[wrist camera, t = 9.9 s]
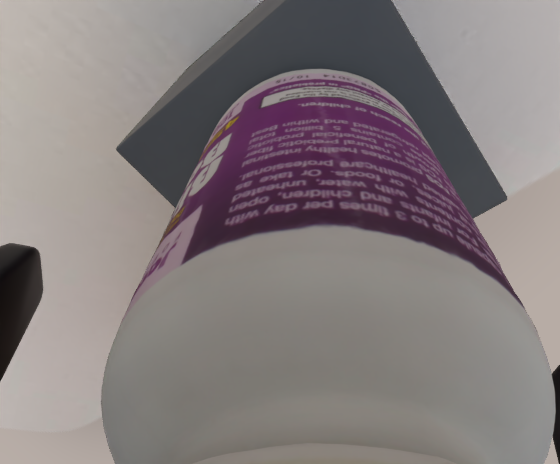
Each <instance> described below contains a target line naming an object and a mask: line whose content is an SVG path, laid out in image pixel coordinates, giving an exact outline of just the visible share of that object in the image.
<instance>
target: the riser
mask: <svg viewBox="0 0 560 464" xmlns="http://www.w3.org/2000/svg"><path fill="white" fill-rule="evenodd" d="M306 69H329V70H336V71H343V72H348V73H351V74H355V75H358V76H361V77H363V78H366V79H368V80H371V81H372V82H374V83H375V84H377V85H378V86H380V87H381V88H383V89H384V90H386V91H387V92H388V93H390V94H391V95H392V96H393V97H395V98H396V99H397V100H398V101H399V102H400V103H401V104H402V105H403V106H404V108H405V109H406V110H407V112H408V113H409V114H410V116H411V117H412V118H413V120H414V121H415V123H416V124H417V126H418V128H419V129H420V131H421V132H422V134H423V136H424V138H425V139H426V141H427V142H428V144H429V145H430V147H431V149H432V150H433V152H434V154H435V156H436V158H437V160H438V161H439V163H440V164H441V166H442V168H443V170H444V171H445V173H446V175H447V177H448V178H449V180H450V182H451V183H452V185H453V187H454V189H455V190H456V192H457V194H458V195H459V197H460V199H461V200H462V202H463V204H464V205H465V207H466V209H467V210H468V212H469V214H470V215H471V217H472V218H475V217H477V216H478V215H480V214H482V213H484V212H486V211H488V210H489V209H491V208H493V207H495V206H497V205H499V204H501V203H502V202H504V201H506V200H507V196H506V194H505V192H504V191H503V189H502V187H501V186H500V184H499V182H498V180H497V179H496V177H495V175H494V174H493V172H492V170H491V169H490V167H489V165H488V164H487V162H486V160H485V158H484V157H483V155H482V153H481V152H480V150H479V148H478V147H477V145H476V143H475V141H474V140H473V138H472V136H471V135H470V133H469V131H468V130H467V128H466V126H465V124H464V123H463V121H462V119H461V118H460V116H459V114H458V113H457V111H456V109H455V108H454V106H453V104H452V102H451V101H450V99H449V97H448V96H447V94H446V92H445V91H444V89H443V87H442V85H441V84H440V82H439V80H438V79H437V77H436V75H435V74H434V72H433V70H432V68H431V67H430V65H429V63H428V62H427V60H426V58H425V57H424V55H423V53H422V52H421V50H420V48H419V46H418V45H417V43H416V41H415V40H414V38H413V36H412V35H411V33H410V31H409V29H408V28H407V26H406V24H405V23H404V21H403V19H402V18H401V16H400V14H399V13H398V11H397V9H396V7H395V6H394V4H393V2H392V1H391V0H264V1H263V2H262V3H260V4H259V5H258V6H257V7H256V8H255V9H254V10H253V11H251V12H250V13H249V14H248V15H247V16H246V17H245V18H244V19H242V20H241V21H240V22H239V23H238V24H237V25H236V26H235V27H234V28H232V29H231V30H230V31H229V32H228V33H227V34H226V35H225V36H223V37H222V38H221V39H220V40H219V41H218V42H217V43H216V44H214V45H213V46H212V47H211V48H210V49H209V50H208V51H207V52H205V53H204V54H203V55H202V56H201V57H200V58H199V59H198V60H197V61H195V62H194V63H193V64H192V65H191V66H190V67H189V68H188V69H187V70H186V71H185V72H184V73H183V74H182V75H181V76H180V77H179V78H178V80H177V81H176V82H175V83H174V84H173V85H172V86H171V87H170V88H169V90H168V91H167V92H166V93H165V94H164V95H163V96H162V97H161V98H160V100H159V101H158V102H157V103H156V104H155V105H154V106H153V107H152V108H151V110H150V111H149V112H148V113H147V114H146V115H145V116H144V117H143V119H142V120H141V121H140V122H139V123H138V124H137V125H136V126H135V127H134V129H133V130H132V131H131V132H130V133H129V134H128V135H127V136H126V137H125V139H124V140H123V141H122V142H121V143H120V144H119V145H118V146H117V148H116V150H117V151H118V152H119V153H120V154H121V155H122V156H123V157H124V158H125V159H126V160H127V161H128V162H129V163H130V164H131V165H132V166H133V167H134V168H135V169H136V170H137V171H138V172H139V173H140V174H141V175H142V176H143V177H144V178H145V179H146V180H147V181H148V182H149V183H150V184H151V185H152V186H153V187H154V188H155V189H156V190H157V191H159V192H160V193H161V194H162V195H163V196H164V197H165V198H166V199H167V200H168V201H169V202H170V203H171V204H172V205H173V206H174V207H175V208H176V206H177V204H178V202H179V200H180V198H181V196H182V194H183V192H184V190H185V188H186V186H187V184H188V182H189V179H190V177H191V175H192V173H193V171H194V169H195V167H196V166H197V164H198V162H199V159H200V157H201V155H202V153H203V150H204V148H205V146H206V145H207V143H208V141H209V139H210V137H211V135H212V133H213V131H214V129H215V128H216V126H217V124H218V122H219V121H220V119H221V118H222V117H223V115H224V114H225V113H226V112H227V110H228V109H229V108H230V107H231V106H232V104H233V103H235V102H236V101H237V100H238V99H239V98H240V97H241V96H242V95H243V94H244V93H246V92H247V91H248V90H250V89H251V88H253V87H254V86H256V85H258V84H260V83H261V82H263V81H265V80H268V79H270V78H272V77H275V76H277V75H280V74H282V73H286V72H290V71H297V70H306Z"/></svg>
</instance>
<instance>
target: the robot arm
mask: <svg viewBox="0 0 560 464" xmlns="http://www.w3.org/2000/svg"><path fill="white" fill-rule="evenodd" d="M42 293H43V280H42V269H41V259H40V253H39V251H38V250H37V249H36V248H34V247H30V246H25V245H20V244H14V243H9V244H6V245H3V246H0V381H1V379H2V377H3V375H4V373H5V371H6V369H7V367H8V365H9V363H10V361H11V359H12V357H13V355H14V353H15V351H16V349H17V347H18V345H19V343H20V341H21V339H22V337H23V335H24V333H25V331H26V329H27V327H28V325H29V323H30V321H31V319H32V317H33V315H34V313H35V311H36V309H37V307H38V305H39V303H40V300H41V297H42ZM552 379H553V384H554V389H555V409H556V412H555V423H554V431H553V440H554V445H555V449H556V453H557V457H558V462H559V464H560V365H559V366H558V367H557V368H556V370H555V371H554V372H553V373H552Z"/></svg>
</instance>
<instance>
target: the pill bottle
mask: <svg viewBox="0 0 560 464" xmlns="http://www.w3.org/2000/svg"><path fill="white" fill-rule="evenodd" d="M101 406H102V417H103V426H104V430H105V434H106V438H107V442H108V446H109V449H110V451H111V454H112V456H113V459H114V461H115V464H544V462H545V460H546V458H547V455H548V452H549V448H550V444H551V439H552V436H553V431H554V423H555V412H556V409H555V389H554V384H553V379H552V374H551V369H550V366H549V363H548V359H547V356H546V354H545V351H544V348H543V346H542V343H541V341H540V338H539V335H538V333H537V330H536V328H535V326H534V324H533V322H532V320H531V318H530V317H529V315H528V314H527V312H526V310H525V308H524V306H523V304H522V303H521V301H520V299H519V298H518V296H517V295H516V294H515V292H514V291H513V288H512V287H511V285H510V283H509V281H508V280H507V278H506V276H505V275H504V273H503V271H502V269H501V266H500V264H499V262H498V261H497V259H496V257H495V255H494V254H493V252H492V251H491V249H490V248H489V246H488V244H487V242H486V241H485V239H484V237H483V236H482V234H481V233H480V232H479V230H478V228H477V226H476V224H475V222H474V220H473V218H472V217H471V215H470V214H469V212H468V210H467V209H466V207H465V205H464V204H463V202H462V200H461V199H460V197H459V195H458V194H457V192H456V190H455V189H454V187H453V185H452V183H451V182H450V180H449V178H448V177H447V175H446V173H445V171H444V170H443V168H442V166H441V164H440V163H439V161H438V160H437V158H436V156H435V154H434V152H433V150H432V149H431V147H430V145H429V144H428V142H427V141H426V139H425V138H424V136H423V134H422V132H421V131H420V129H419V128H418V126H417V124H416V123H415V121H414V120H413V118H412V117H411V116H410V114H409V113H408V112H407V110H406V109H405V108H404V106H403V105H402V104H401V103H400V102H399V101H398V100H397V99H396V98H395V97H393V96H392V95H391V94H390V93H388V92H387V91H386V90H384V89H383V88H381V87H380V86H378V85H377V84H375V83H374V82H372V81H371V80H368V79H366V78H363V77H361V76H358V75H355V74H351V73H348V72H343V71H336V70H329V69H306V70H297V71H290V72H286V73H282V74H280V75H277V76H275V77H272V78H270V79H268V80H265V81H263V82H261V83H260V84H258V85H256V86H254V87H253V88H251V89H250V90H248V91H247V92H246V93H244V94H243V95H242V96H241V97H240V98H239V99H238V100H237V101H236V102H235V103H233V104H232V106H231V107H230V108H229V109H228V110H227V112H226V113H225V114H224V115H223V117H222V118H221V119H220V121H219V122H218V124H217V126H216V128H215V129H214V131H213V133H212V135H211V137H210V139H209V141H208V143H207V145H206V146H205V148H204V150H203V153H202V155H201V157H200V159H199V162H198V164H197V166H196V167H195V169H194V171H193V173H192V175H191V177H190V179H189V182H188V184H187V186H186V188H185V190H184V192H183V194H182V196H181V198H180V200H179V202H178V204H177V206H176V208H175V210H174V212H173V214H172V217H171V219H170V221H169V224H168V226H167V228H166V230H165V232H164V234H163V237H162V239H161V241H160V243H159V245H158V247H157V249H156V251H155V253H154V255H153V257H152V259H151V261H150V263H149V265H148V267H147V269H146V271H145V273H144V276H143V278H142V280H141V282H140V284H139V286H138V288H137V289H136V291H135V293H134V295H133V298H132V300H131V302H130V305H129V307H128V309H127V311H126V313H125V315H124V317H123V319H122V322H121V324H120V327H119V329H118V332H117V334H116V337H115V339H114V342H113V345H112V347H111V350H110V353H109V356H108V359H107V363H106V367H105V372H104V378H103V384H102V396H101Z"/></svg>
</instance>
